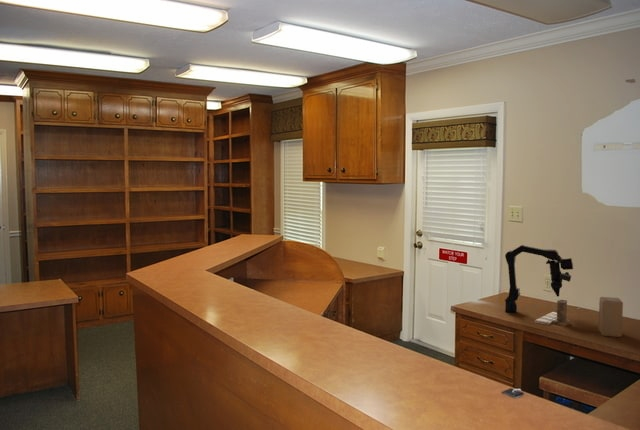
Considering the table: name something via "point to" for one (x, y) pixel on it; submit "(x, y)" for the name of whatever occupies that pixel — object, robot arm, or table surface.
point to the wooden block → (610, 316)
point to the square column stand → (561, 313)
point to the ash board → (547, 318)
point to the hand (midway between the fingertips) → (558, 294)
